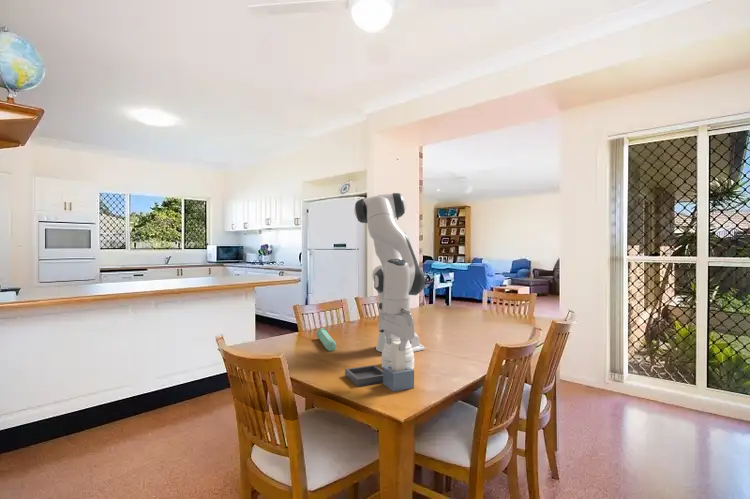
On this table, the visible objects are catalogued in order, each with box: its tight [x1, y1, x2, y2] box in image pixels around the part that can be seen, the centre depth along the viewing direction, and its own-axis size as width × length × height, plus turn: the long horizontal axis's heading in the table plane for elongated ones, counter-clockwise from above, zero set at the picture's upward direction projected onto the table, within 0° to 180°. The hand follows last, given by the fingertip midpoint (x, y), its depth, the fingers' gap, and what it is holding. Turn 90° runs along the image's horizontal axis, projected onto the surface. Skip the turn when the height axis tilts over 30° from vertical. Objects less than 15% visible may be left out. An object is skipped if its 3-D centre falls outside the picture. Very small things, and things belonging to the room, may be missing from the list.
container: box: [316, 327, 337, 352], centre depth 190 cm, size 6×6×25 cm
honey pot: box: [381, 334, 415, 370], centre depth 157 cm, size 13×13×18 cm
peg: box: [391, 341, 405, 372], centre depth 135 cm, size 4×4×15 cm
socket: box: [382, 365, 415, 392], centre depth 135 cm, size 8×8×6 cm
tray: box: [344, 364, 383, 388], centre depth 143 cm, size 12×12×2 cm
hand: (395, 347), depth 135 cm, fingers open, 8 cm apart
